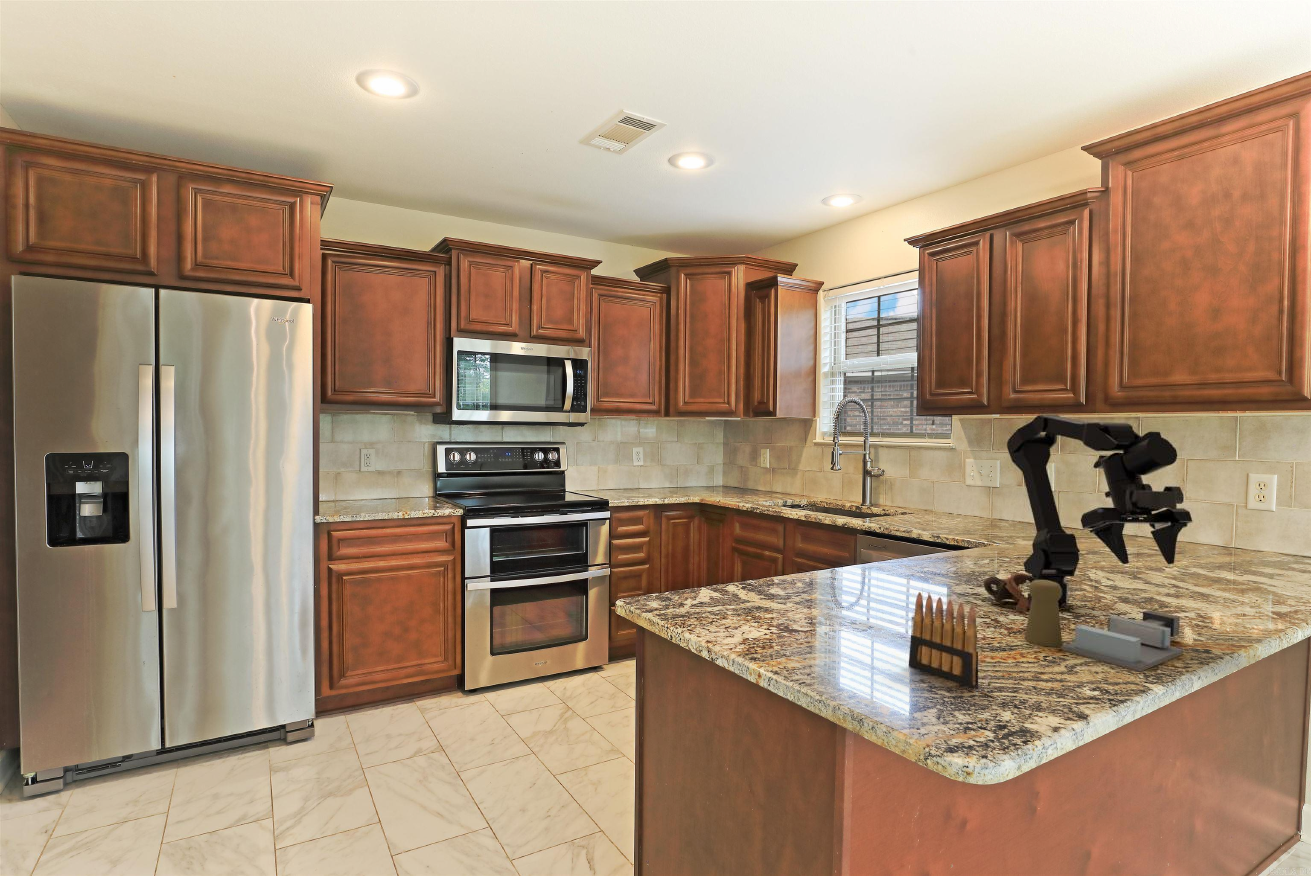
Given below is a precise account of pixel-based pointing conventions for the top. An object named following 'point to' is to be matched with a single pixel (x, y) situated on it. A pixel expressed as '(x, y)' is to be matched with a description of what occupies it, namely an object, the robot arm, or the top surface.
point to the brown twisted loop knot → (1010, 589)
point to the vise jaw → (1147, 628)
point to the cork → (1044, 614)
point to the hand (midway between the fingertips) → (1148, 563)
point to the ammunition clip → (945, 642)
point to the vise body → (1118, 649)
